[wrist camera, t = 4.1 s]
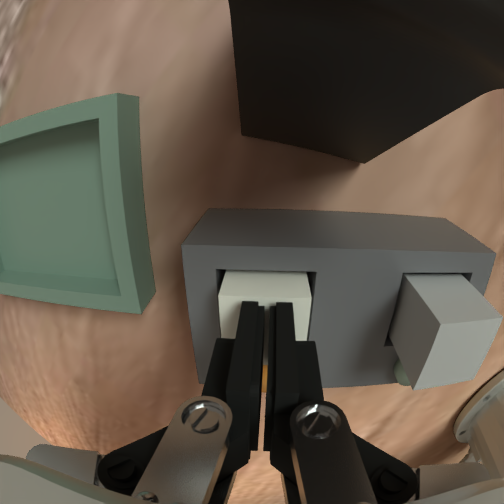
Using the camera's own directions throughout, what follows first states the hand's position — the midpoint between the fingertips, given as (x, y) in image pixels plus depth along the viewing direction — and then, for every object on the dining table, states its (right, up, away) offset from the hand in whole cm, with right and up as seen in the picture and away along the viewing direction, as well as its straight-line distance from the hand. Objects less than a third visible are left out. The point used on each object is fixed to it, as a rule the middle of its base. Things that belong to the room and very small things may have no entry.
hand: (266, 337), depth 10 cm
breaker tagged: (0, +1, +3) cm, 4 cm away
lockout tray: (-13, +6, +5) cm, 15 cm away
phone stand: (+3, +12, +2) cm, 13 cm away
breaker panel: (+4, +2, +6) cm, 7 cm away
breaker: (+7, +1, +1) cm, 7 cm away
